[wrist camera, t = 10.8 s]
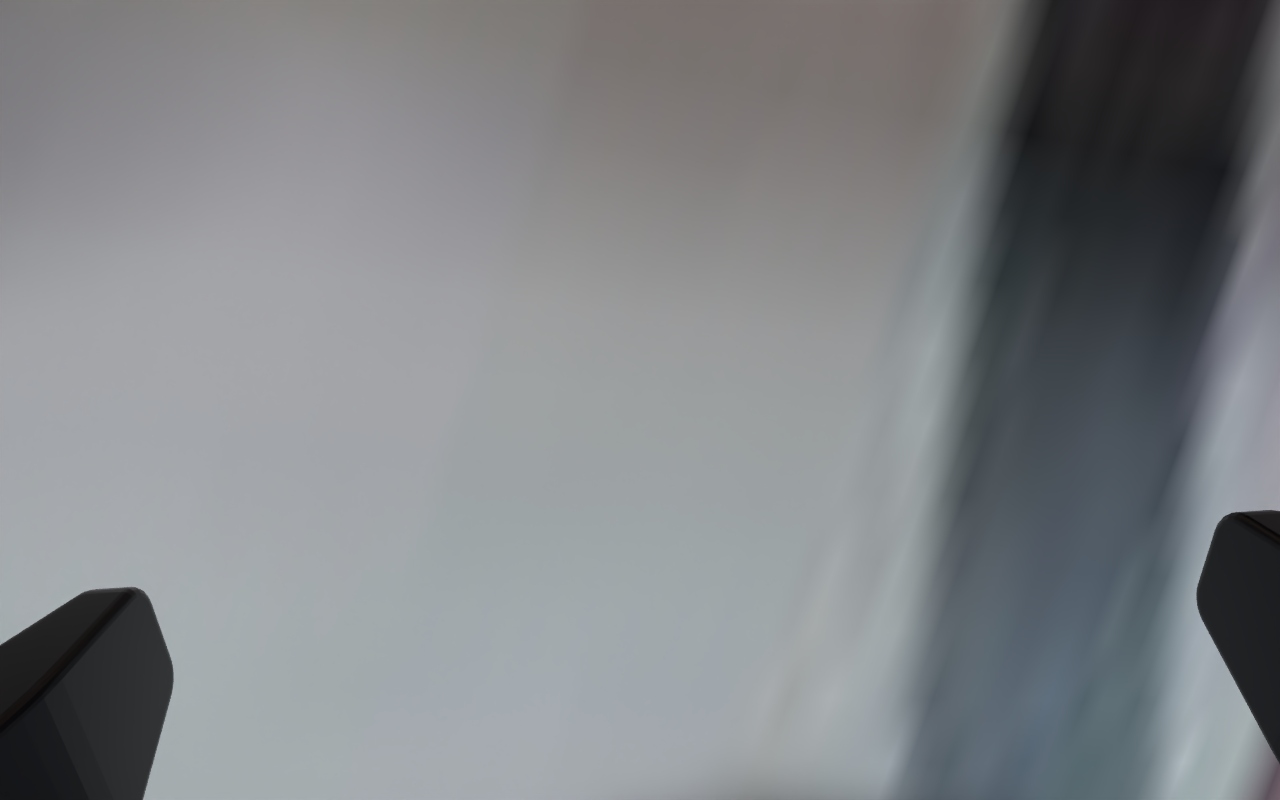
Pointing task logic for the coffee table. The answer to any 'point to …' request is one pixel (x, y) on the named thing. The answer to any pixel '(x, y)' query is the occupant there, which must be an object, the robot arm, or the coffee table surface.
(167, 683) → the robot arm
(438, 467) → the coffee table surface
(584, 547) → the coffee table surface
